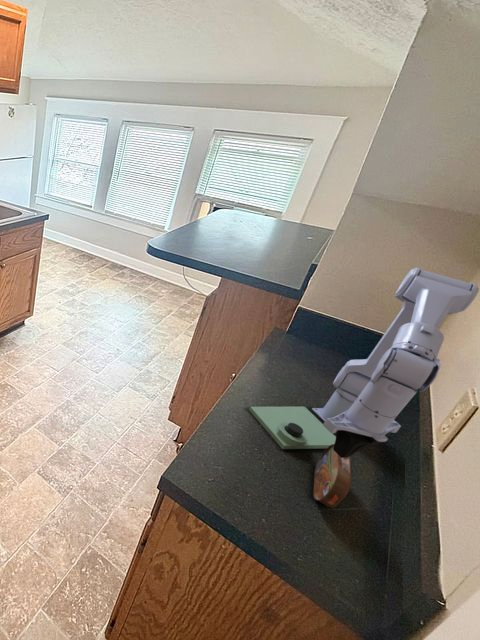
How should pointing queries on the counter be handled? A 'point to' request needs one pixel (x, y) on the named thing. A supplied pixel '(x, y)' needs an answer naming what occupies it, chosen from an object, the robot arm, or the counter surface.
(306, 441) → the pale green flat piece
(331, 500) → the tin
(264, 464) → the counter surface
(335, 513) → the counter surface
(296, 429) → the button
